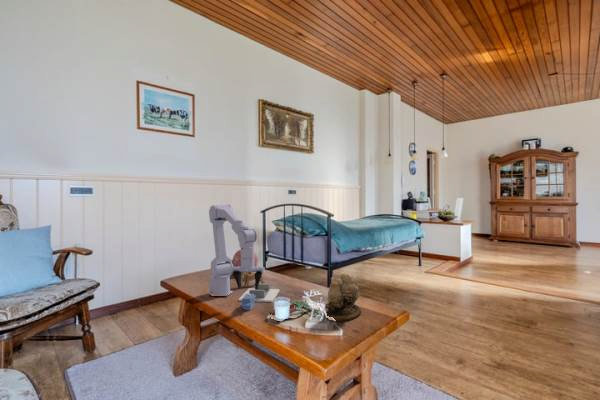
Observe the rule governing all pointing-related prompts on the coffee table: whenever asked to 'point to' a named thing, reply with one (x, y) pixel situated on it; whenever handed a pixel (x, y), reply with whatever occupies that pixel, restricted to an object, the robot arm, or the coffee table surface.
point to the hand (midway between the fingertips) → (248, 288)
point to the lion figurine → (249, 278)
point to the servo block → (248, 301)
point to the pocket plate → (262, 293)
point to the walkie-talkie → (292, 310)
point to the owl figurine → (343, 299)
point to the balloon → (237, 259)
